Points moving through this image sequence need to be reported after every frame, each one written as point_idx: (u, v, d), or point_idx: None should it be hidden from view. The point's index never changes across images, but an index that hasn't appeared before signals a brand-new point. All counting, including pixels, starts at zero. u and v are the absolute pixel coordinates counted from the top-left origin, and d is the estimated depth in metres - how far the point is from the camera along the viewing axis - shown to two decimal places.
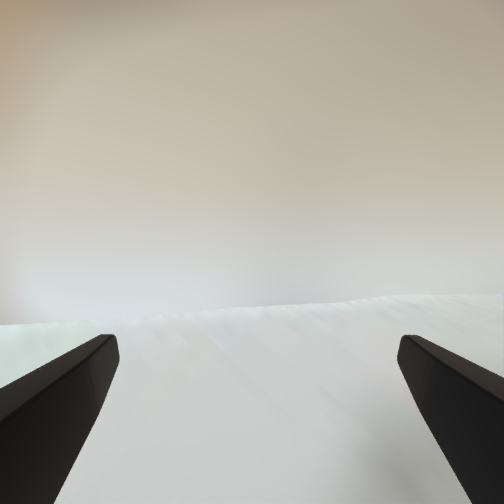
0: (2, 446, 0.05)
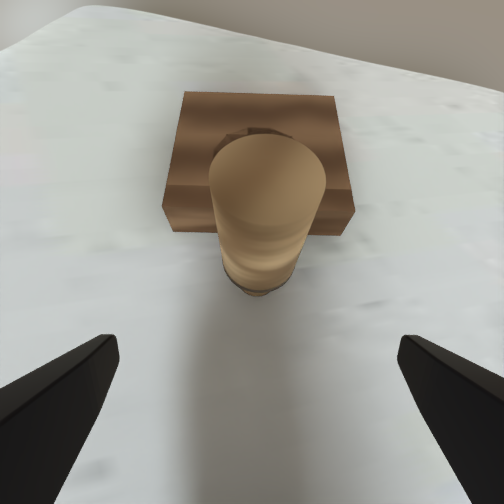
0: (2, 446, 0.05)
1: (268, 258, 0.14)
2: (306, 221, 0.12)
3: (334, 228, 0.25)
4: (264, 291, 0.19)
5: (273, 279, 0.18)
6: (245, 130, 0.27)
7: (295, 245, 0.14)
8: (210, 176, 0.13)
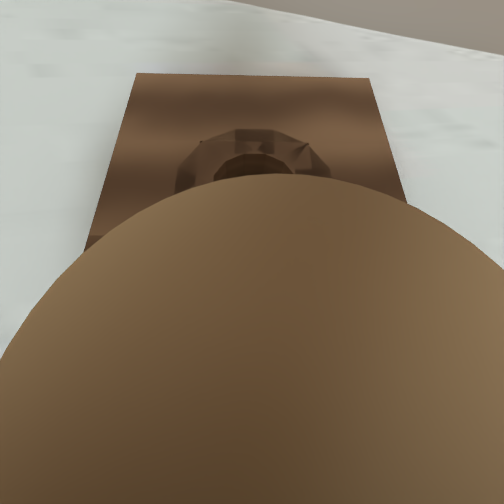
0: None
1: None
2: None
3: None
4: None
5: None
6: (232, 135, 0.16)
7: None
8: None
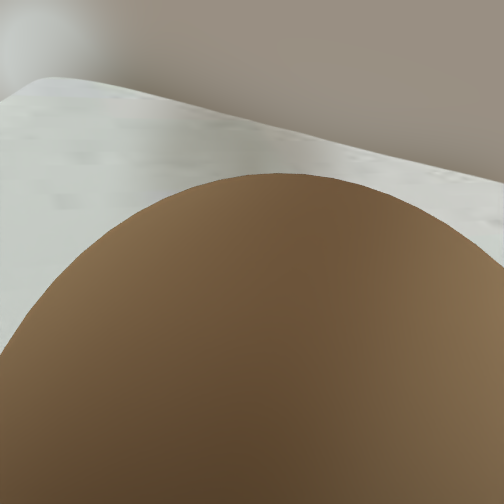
0: None
1: None
2: None
3: None
4: None
5: None
6: None
7: None
8: None
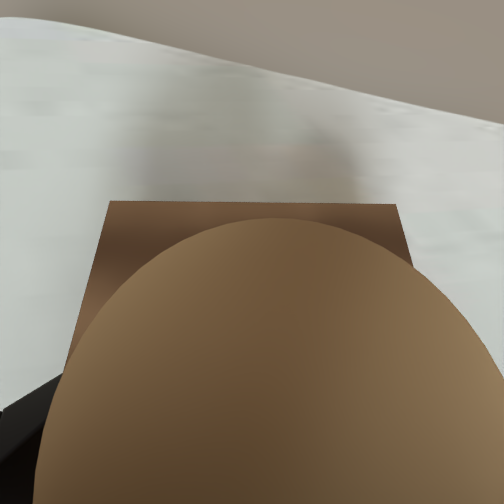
0: None
1: None
2: None
3: None
4: None
5: None
6: None
7: None
8: (49, 440, 0.03)
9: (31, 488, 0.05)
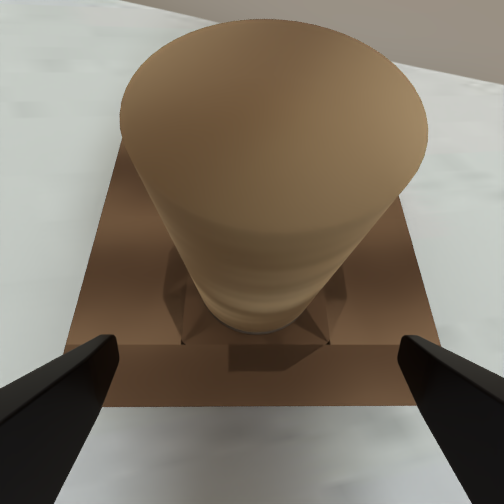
0: (2, 446, 0.05)
1: (276, 297, 0.07)
2: (377, 219, 0.05)
3: None
4: (266, 333, 0.12)
5: (282, 320, 0.10)
6: None
7: (334, 270, 0.07)
8: (126, 104, 0.05)
9: None
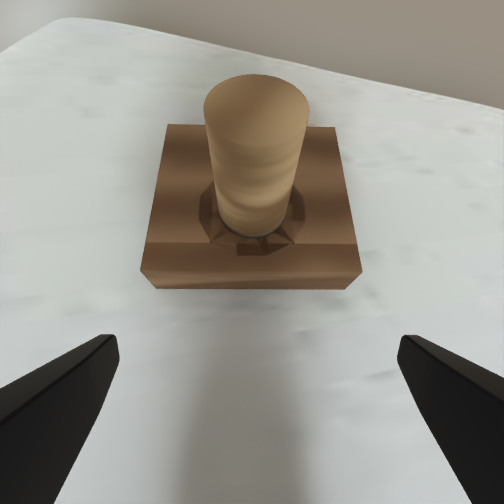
0: (2, 446, 0.05)
1: (259, 190, 0.16)
2: (292, 147, 0.14)
3: (338, 284, 0.22)
4: (257, 236, 0.21)
5: (265, 220, 0.19)
6: None
7: (283, 177, 0.16)
8: (205, 108, 0.14)
9: None
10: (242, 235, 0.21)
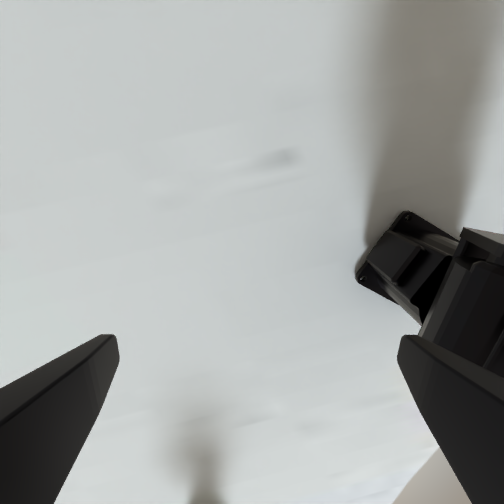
0: (2, 446, 0.05)
1: None
2: None
3: None
4: None
5: None
6: None
7: None
8: None
9: None
10: None
